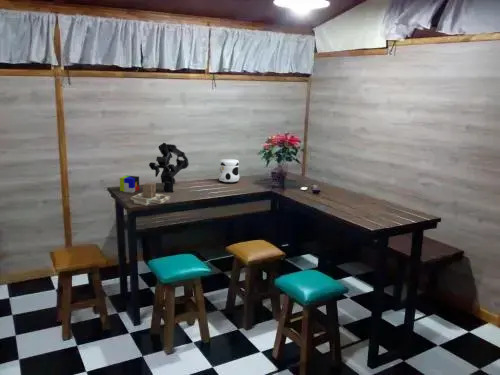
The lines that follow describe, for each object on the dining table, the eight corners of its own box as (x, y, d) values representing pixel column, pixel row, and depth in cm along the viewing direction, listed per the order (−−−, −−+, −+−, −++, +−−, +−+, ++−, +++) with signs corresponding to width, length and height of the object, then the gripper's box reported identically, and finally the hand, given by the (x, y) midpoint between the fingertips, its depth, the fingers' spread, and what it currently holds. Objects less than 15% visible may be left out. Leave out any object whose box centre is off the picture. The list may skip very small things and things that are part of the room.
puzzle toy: (133, 192, 312) (132, 179, 310) (120, 191, 314) (119, 178, 311) (139, 189, 321) (139, 176, 319) (126, 188, 323) (126, 175, 321)
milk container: (214, 181, 360) (214, 159, 356) (230, 178, 372) (230, 158, 368) (227, 185, 348) (228, 162, 344) (243, 182, 359) (244, 161, 356)
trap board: (143, 194, 307) (143, 189, 307) (172, 197, 301) (172, 192, 300) (125, 202, 285) (125, 196, 285) (155, 206, 279) (155, 200, 278)
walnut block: (147, 195, 297) (147, 182, 295) (155, 196, 295) (155, 183, 293) (143, 197, 291) (142, 184, 289) (151, 198, 290) (151, 185, 288)
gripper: (150, 150, 306) (142, 168, 298) (174, 153, 301) (166, 171, 293) (155, 160, 315) (148, 178, 307) (179, 162, 310) (172, 180, 302)
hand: (158, 176), depth 302 cm, fingers open, 4 cm apart
